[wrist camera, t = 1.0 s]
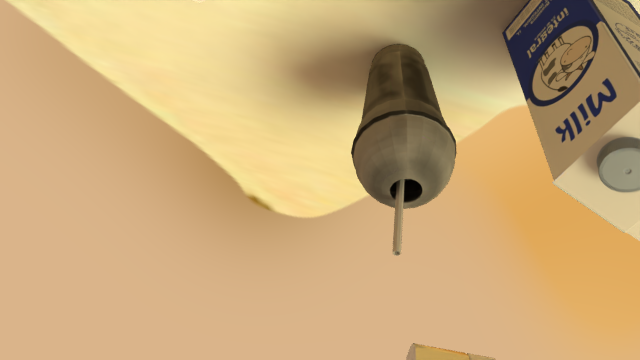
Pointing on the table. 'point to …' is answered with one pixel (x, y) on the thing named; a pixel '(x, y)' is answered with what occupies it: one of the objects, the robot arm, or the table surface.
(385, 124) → the beverage cup
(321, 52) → the table surface
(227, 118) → the table surface
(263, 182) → the table surface
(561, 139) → the milk carton
